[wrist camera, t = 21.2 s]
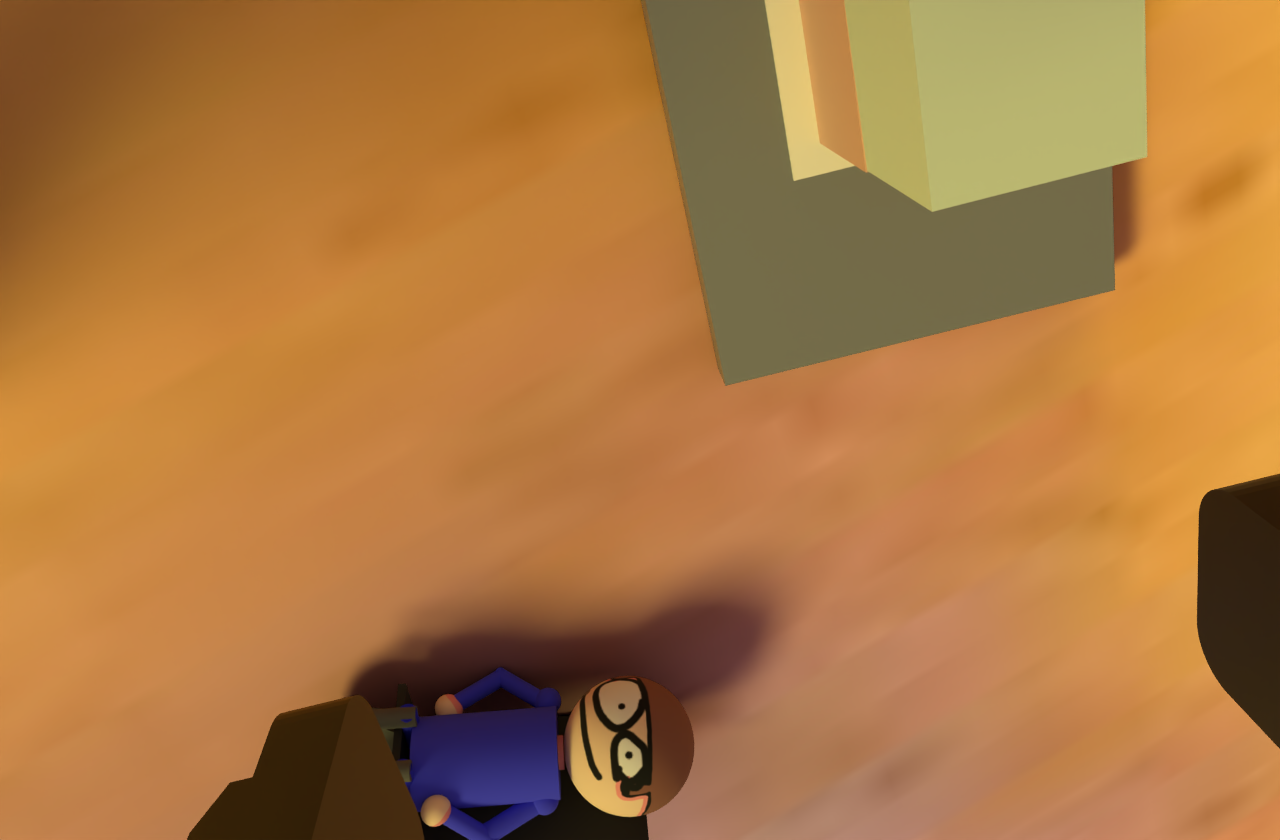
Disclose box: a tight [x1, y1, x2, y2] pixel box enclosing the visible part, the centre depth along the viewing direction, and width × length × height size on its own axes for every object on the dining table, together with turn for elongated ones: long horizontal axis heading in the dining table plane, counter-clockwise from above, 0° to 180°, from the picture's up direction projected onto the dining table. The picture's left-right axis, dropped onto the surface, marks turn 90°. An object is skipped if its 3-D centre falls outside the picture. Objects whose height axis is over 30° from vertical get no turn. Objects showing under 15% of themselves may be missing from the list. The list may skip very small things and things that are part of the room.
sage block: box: [844, 0, 1147, 212], centre depth 24 cm, size 5×5×5 cm
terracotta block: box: [799, 0, 868, 173], centre depth 28 cm, size 5×5×5 cm
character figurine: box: [371, 667, 694, 840], centre depth 39 cm, size 8×7×15 cm
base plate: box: [641, 0, 1115, 386], centre depth 31 cm, size 14×20×2 cm
